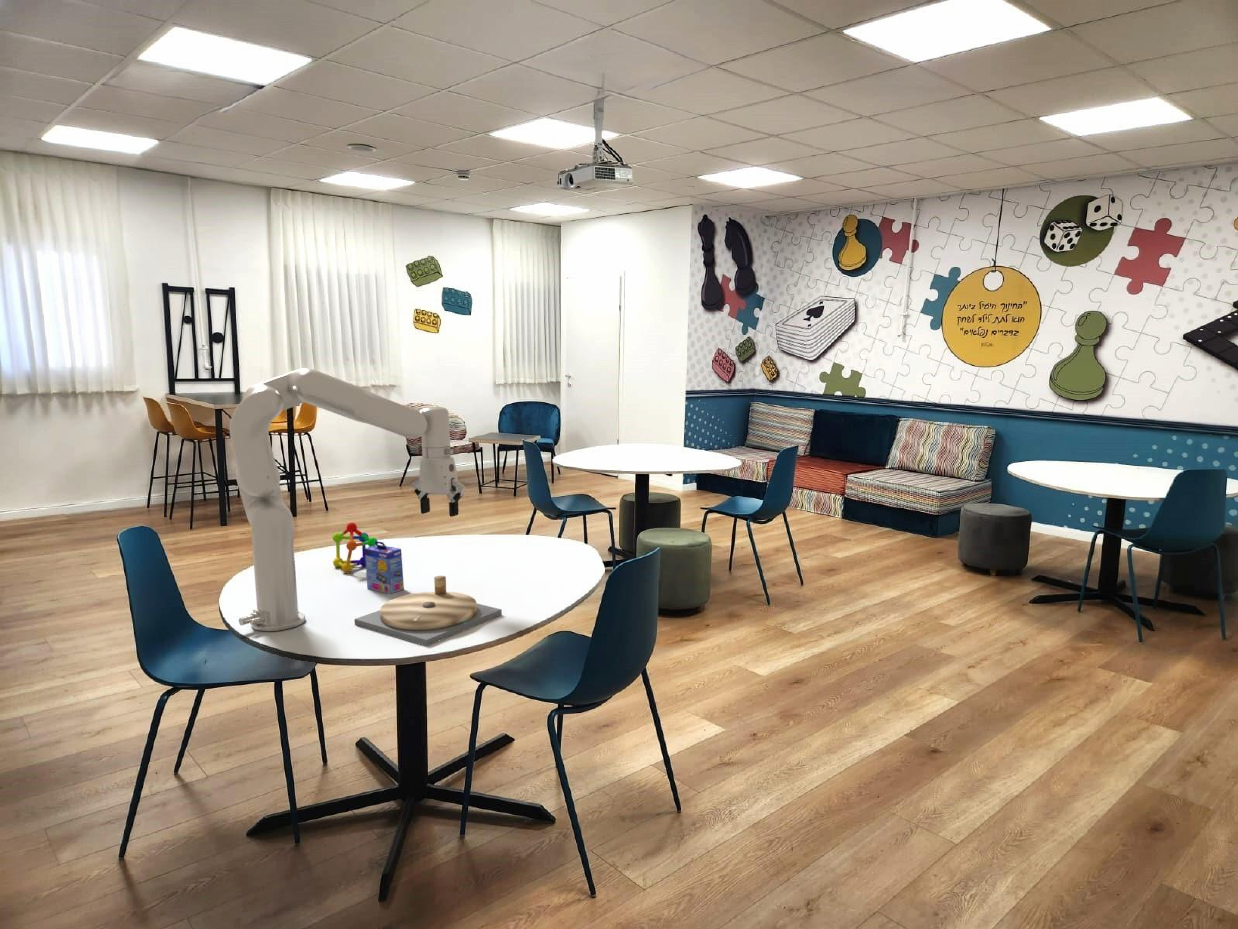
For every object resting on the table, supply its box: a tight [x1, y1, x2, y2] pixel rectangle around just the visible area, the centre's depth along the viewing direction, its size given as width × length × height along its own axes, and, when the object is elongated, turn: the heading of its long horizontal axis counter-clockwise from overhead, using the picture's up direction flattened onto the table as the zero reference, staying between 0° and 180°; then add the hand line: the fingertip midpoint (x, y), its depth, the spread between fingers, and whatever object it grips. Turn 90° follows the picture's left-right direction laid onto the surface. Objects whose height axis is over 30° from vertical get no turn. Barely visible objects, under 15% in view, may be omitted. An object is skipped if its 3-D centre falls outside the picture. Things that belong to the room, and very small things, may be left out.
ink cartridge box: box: [365, 540, 405, 595], centre depth 233 cm, size 10×6×14 cm, turn 59°
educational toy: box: [332, 522, 378, 574], centre depth 256 cm, size 16×13×15 cm
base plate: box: [354, 603, 503, 647], centre depth 209 cm, size 26×26×2 cm
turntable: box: [379, 575, 478, 630], centre depth 208 cm, size 24×24×6 cm
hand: (439, 514), depth 224 cm, fingers open, 9 cm apart
